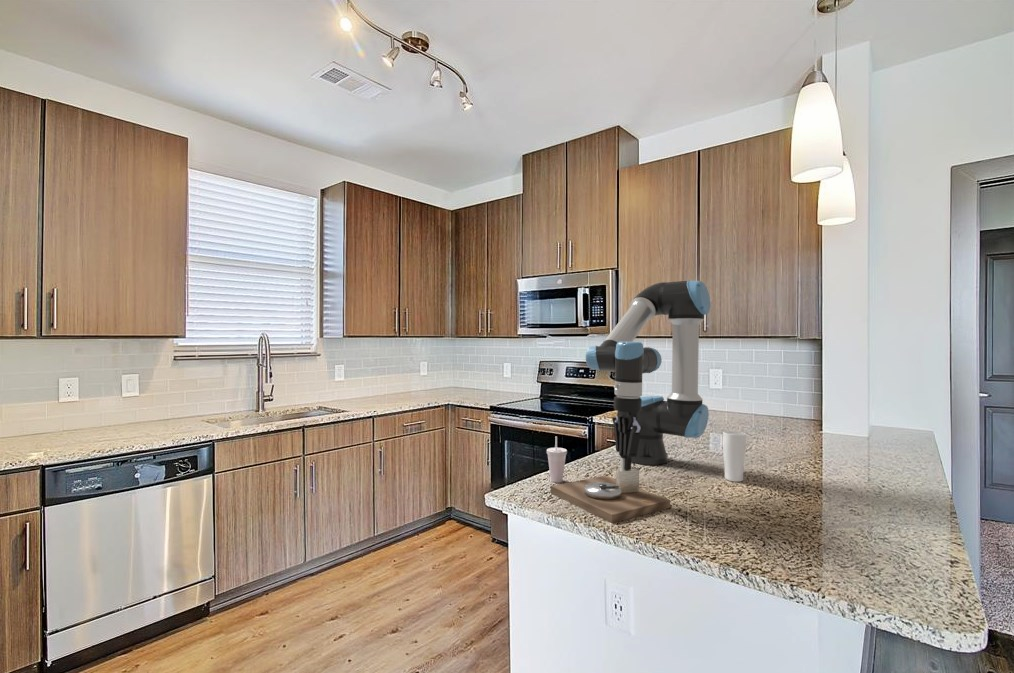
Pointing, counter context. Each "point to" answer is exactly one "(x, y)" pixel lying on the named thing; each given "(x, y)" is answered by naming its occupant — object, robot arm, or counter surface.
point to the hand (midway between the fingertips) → (625, 479)
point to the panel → (612, 508)
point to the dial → (607, 491)
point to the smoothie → (556, 462)
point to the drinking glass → (734, 455)
